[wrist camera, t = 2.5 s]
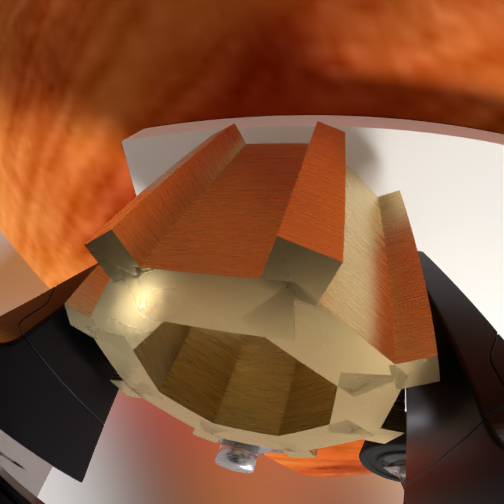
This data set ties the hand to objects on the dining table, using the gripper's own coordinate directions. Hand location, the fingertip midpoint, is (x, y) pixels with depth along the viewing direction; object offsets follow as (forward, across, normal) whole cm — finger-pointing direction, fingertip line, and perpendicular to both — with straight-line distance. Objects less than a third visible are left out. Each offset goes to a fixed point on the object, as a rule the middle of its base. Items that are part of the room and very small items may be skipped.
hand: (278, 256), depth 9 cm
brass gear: (+1, 0, 0) cm, 1 cm away
